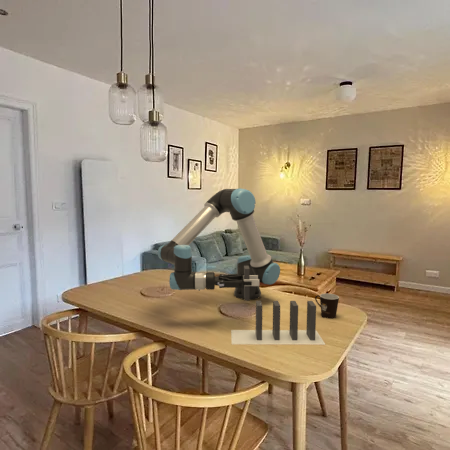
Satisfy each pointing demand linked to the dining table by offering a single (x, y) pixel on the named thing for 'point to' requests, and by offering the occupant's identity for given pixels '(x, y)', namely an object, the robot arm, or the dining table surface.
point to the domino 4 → (293, 320)
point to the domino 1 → (246, 288)
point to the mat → (268, 338)
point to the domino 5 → (311, 320)
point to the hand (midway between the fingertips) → (258, 280)
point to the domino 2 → (258, 320)
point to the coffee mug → (328, 305)
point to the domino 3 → (276, 320)
